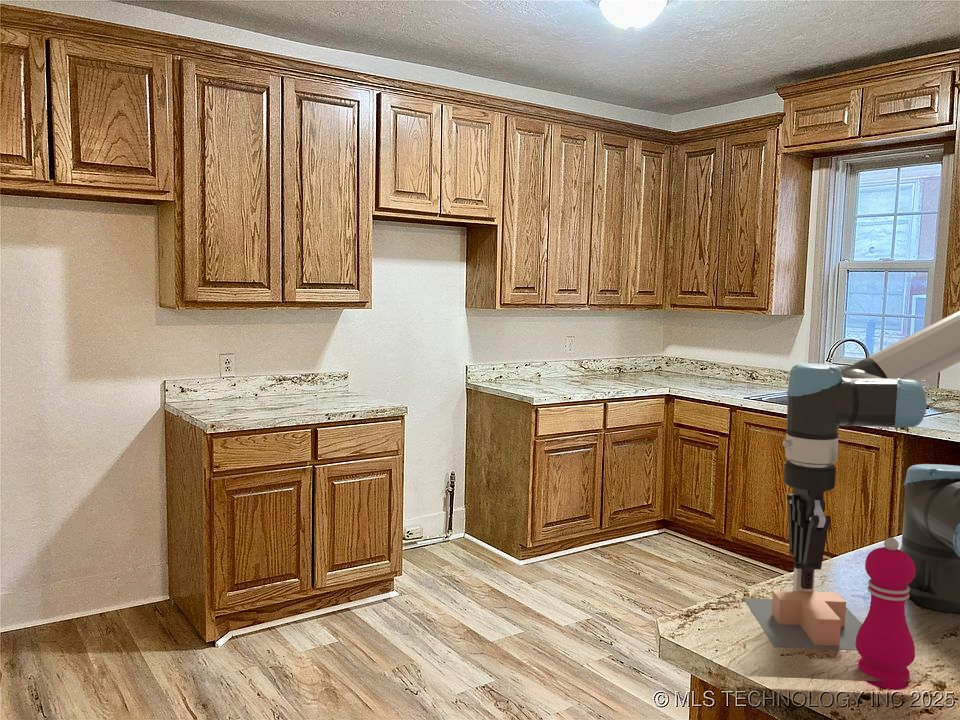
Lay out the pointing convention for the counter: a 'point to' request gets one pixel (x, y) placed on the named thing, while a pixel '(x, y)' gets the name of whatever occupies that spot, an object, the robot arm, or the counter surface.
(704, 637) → the counter surface
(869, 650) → the pepper mill
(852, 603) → the counter surface
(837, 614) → the t block
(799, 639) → the mat
